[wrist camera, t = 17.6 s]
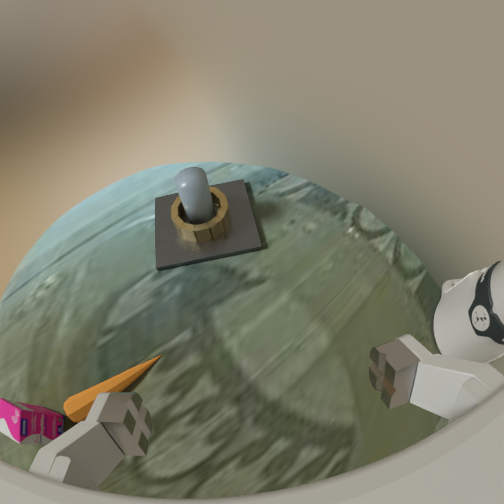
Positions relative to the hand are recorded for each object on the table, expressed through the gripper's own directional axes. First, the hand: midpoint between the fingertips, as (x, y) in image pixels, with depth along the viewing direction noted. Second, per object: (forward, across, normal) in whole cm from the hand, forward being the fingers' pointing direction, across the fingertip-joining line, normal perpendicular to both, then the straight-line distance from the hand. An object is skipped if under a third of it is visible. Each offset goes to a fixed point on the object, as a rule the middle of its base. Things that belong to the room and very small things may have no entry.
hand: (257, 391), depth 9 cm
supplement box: (+20, +37, +24) cm, 48 cm away
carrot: (+25, +22, +20) cm, 39 cm away
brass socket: (+44, +5, 0) cm, 45 cm away
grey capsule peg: (+44, +5, -2) cm, 44 cm away
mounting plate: (+44, +5, 0) cm, 45 cm away
